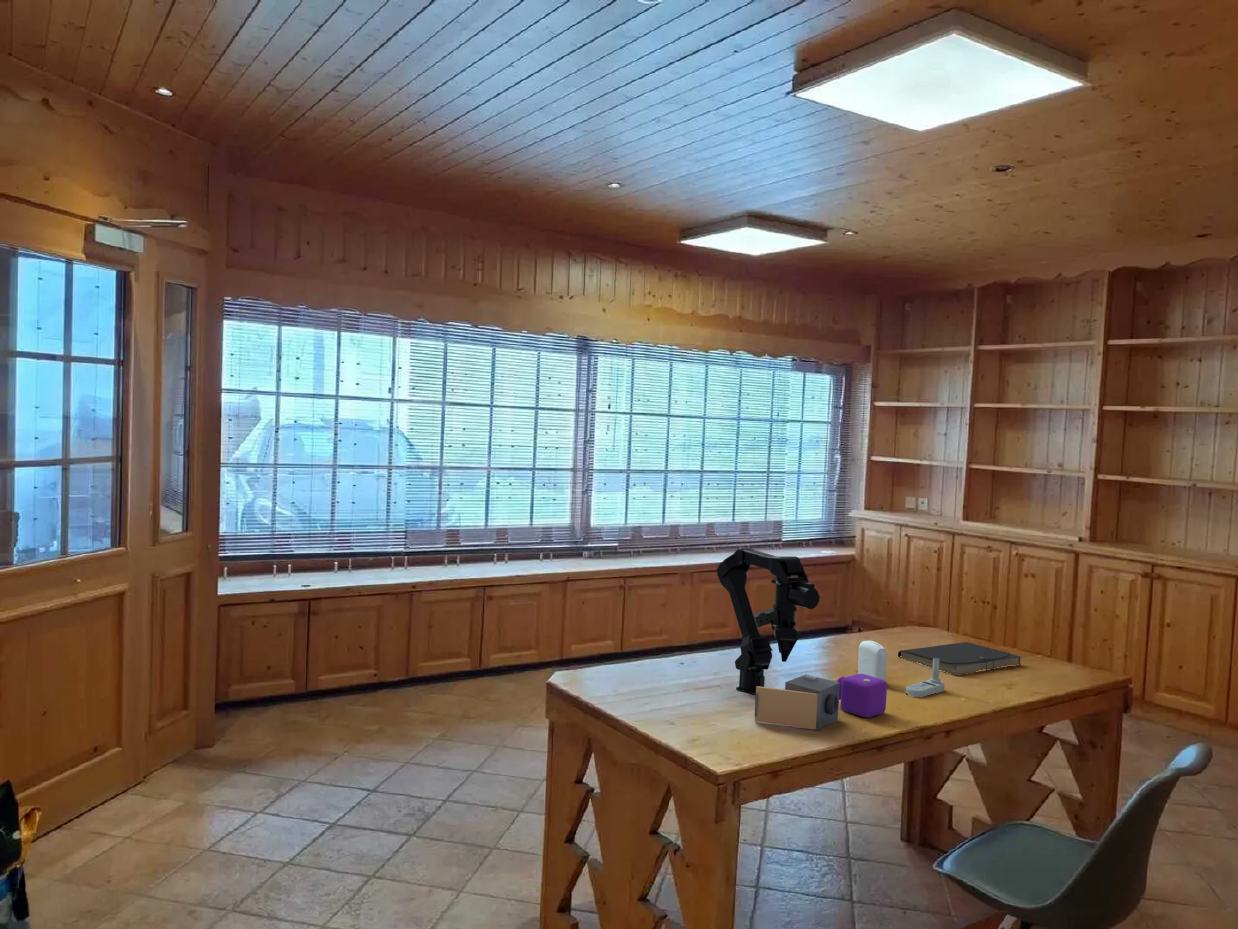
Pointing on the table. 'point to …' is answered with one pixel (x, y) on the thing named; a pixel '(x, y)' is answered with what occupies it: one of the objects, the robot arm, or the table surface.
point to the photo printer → (872, 659)
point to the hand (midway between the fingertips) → (782, 657)
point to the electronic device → (927, 684)
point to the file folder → (961, 657)
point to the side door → (788, 707)
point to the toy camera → (863, 695)
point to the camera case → (819, 687)
